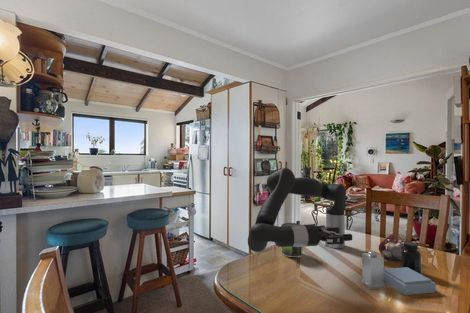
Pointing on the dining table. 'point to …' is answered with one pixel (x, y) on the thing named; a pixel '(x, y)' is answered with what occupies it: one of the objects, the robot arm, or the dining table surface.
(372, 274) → the block
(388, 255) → the brake caliper
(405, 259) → the supplement bottle
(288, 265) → the dining table surface
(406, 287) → the stand
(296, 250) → the coffee can
